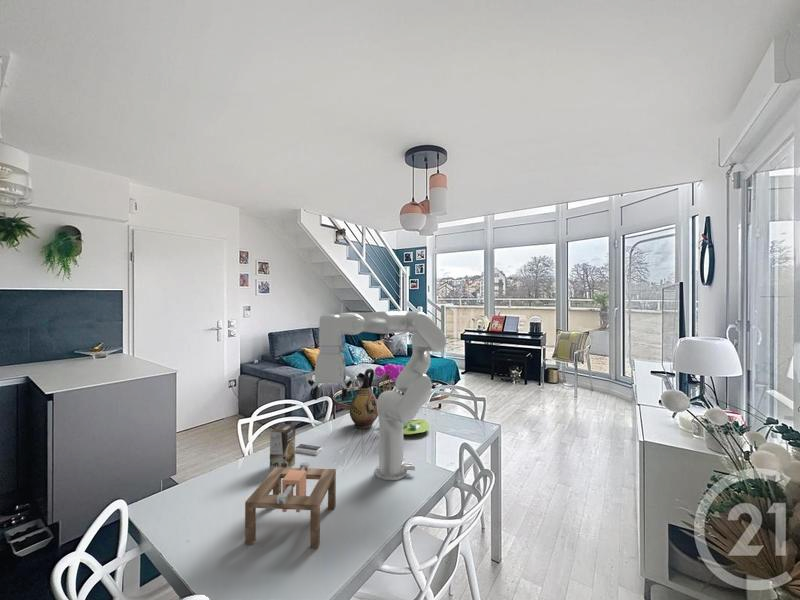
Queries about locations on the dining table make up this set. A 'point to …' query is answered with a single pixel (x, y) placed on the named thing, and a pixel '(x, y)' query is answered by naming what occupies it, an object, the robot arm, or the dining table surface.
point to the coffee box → (282, 446)
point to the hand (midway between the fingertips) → (330, 399)
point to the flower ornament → (394, 371)
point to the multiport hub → (309, 449)
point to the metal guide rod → (290, 486)
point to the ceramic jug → (364, 402)
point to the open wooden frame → (291, 500)
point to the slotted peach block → (295, 483)
